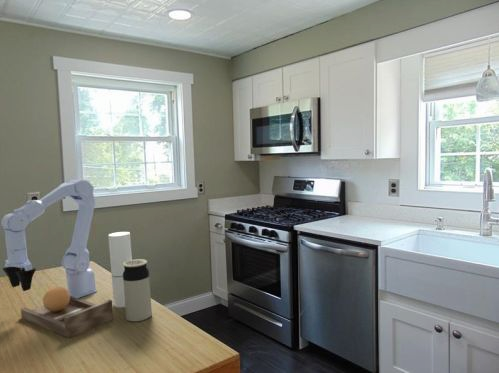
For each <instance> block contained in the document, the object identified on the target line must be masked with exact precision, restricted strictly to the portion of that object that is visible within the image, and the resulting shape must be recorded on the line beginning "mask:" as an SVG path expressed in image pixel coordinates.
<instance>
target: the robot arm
mask: <svg viewBox="0 0 499 373" xmlns="http://www.w3.org/2000/svg"><path fill="white" fill-rule="evenodd" d="M94 188H95V187H94V186H93V185H92V183H91V182H90V181H89V180H87V179H68V180H66V181H65V182H62V183H60V185H59V186H58V187H56V188H54V189H53V190H51V191H50V192H49V193H47V194H46V195H44V196H43V197H42V198H40V199H39V200H37V199H32V200H31V199H29V200H27V201H26V204H24V205H23V206H21V207H19V208H15V209H14V210H13V213H12V212H11V213H8V214H7V213H6V214H5V215H4V216H3V217H2V219H1V221H0V227H1V228H2V229H3V230H4V236H5V237H4V238H5V248H6V253H7V259H5V264H4V267H3V268H2V271H3V272H4V273H5V274H6V276H7V277H8V280H9V283H10V286H11V287H12V288H16V287H20V286H21V290H22V292H26V291H29V290H31V287H32V281H33V277H34V274H35V273H36V268H35V267H33V264H32V262H30V260H29V257H28V249H27V248H28V247H27V240H26V230H25V229H26V228H27V226H28V224H29V223H31V222H32V221H34V220H36V219H37V218H38V217H40V216H42V215H43V214H44V213H45V210H46V208H47V207H49V206H51V205H53V204H55V202H58V201H59V200H62V198H64V197H70V198H72V199H74V201H75V202H76V203H77V205H78V208H77V209H78V210H77V215H76V220H75V225H74V229H73V232H72V233H73V234H72V239H71V243H70V246H69V247H68V248H67V249H66V250H65V254H64V256H63V257H62V258H61V266H62V267H63V269H65V274H66V287H67V289H66V290H67V291H68V292H69V294H70V296H72V297H75V298H78V299H80V298H82V297H84V296H88V295H91V294H93V293H96V292H97V291H98V290H97V288H96V279H95V273H94V271H93V270H92V268H89V267H90V263H91V262H90V251H89V250H88V248H87V244H88V242H89V240H88V239H89V235H90V230H91V225H92V220H93V214H94V210H95V206H96V201H95V195H94Z"/></svg>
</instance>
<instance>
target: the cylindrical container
mask: <svg viewBox="0 0 499 373" xmlns="http://www.w3.org/2000/svg"><path fill="white" fill-rule="evenodd" d="M107 236H108V246H109V247H108V248H109V249H108V250H109V258H110V272H111V284H112V286H111V287H112V295H113V297H112V298H113V306H114V307H115V308H125V296H124V283H123V272H124V270H125V268H124V266H123V263H124V262H126V261H130V260H133V256H132V255H133V254H132V240H131V232H130V231H118V232H117V231H116V232H112V233H109V234H108V235H107Z"/></svg>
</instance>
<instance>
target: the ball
mask: <svg viewBox="0 0 499 373" xmlns="http://www.w3.org/2000/svg"><path fill="white" fill-rule="evenodd" d="M69 301H70V294H69V292H68V289H66V288H65V287H63V286H53V287H51V288H49V289H48V290H47V291H45V294H44V295H43V299H42V304H43V306H45V308H46V309H48V310H49V311H53V312H57V311H60V310H62V309H64V308H65V307H66V306H67V305H68V303H69Z"/></svg>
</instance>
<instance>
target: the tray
mask: <svg viewBox="0 0 499 373" xmlns="http://www.w3.org/2000/svg"><path fill="white" fill-rule="evenodd" d="M20 316H21V317H20V318H21V319H23V320H25V321H28V322H31V323H33V324H35V325H37V326H39V327H42V328H44V329H46V330H49V331H51V332H53V333H55V334H58V335H60V336H63V337H65V338H67V339H70V338H72V337H75V336H77V335H79V334H82V333H83V332H84V333H85V332H87V331H89V330H91V329H93V328H96V327H97V326H100V325H102V324H105V323H106V322H108V321H111V320H113V319H114V309H113V300H112V299H107V300H105V301H104V300H103V301H101V302H98V303H93V302H90V301H88V300H84V299H80V298H75V297H72V296H70V301H69V303H68V305H67V306H66V307H65V308H64V309H62V310H60V311H57V312H53V311H49V310H48V309H46V308H45V306H44V305H41V306H38V307H35V308H33V309H30V308H28V307H23V308H20Z"/></svg>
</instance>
